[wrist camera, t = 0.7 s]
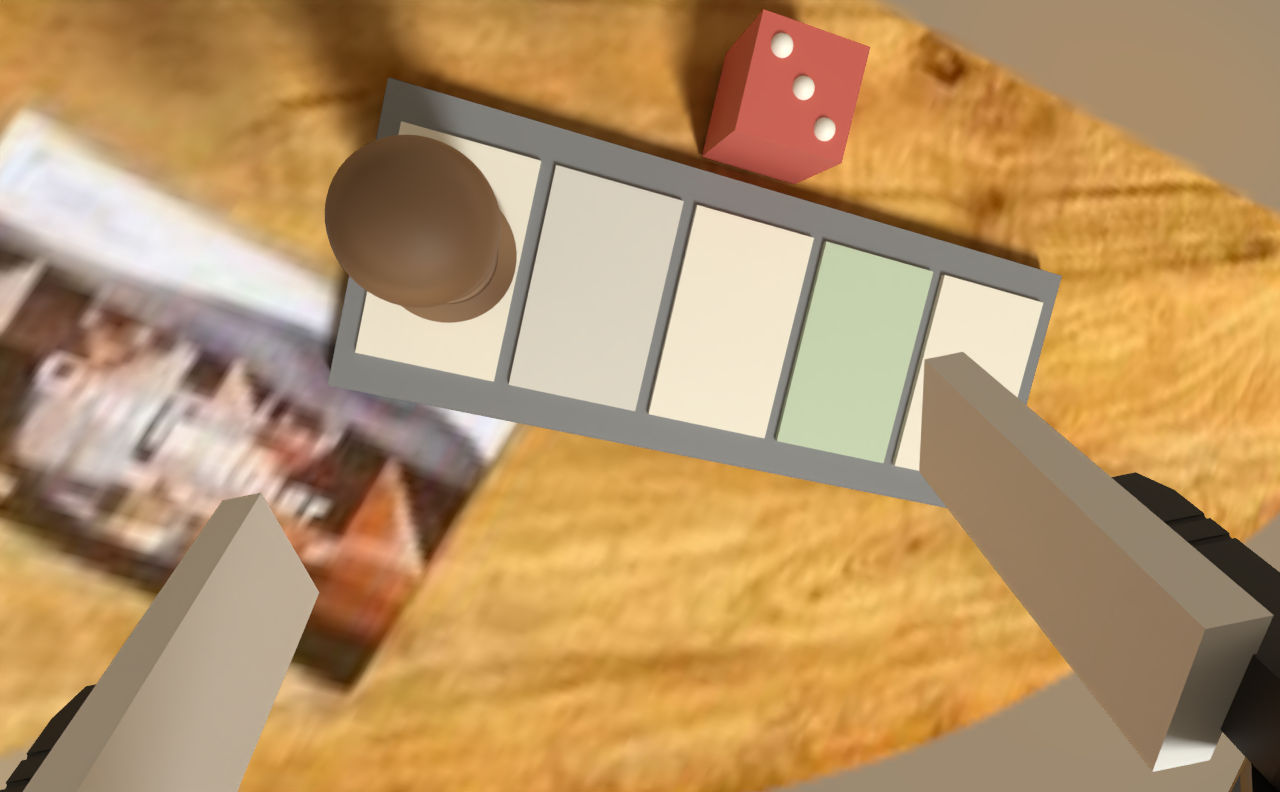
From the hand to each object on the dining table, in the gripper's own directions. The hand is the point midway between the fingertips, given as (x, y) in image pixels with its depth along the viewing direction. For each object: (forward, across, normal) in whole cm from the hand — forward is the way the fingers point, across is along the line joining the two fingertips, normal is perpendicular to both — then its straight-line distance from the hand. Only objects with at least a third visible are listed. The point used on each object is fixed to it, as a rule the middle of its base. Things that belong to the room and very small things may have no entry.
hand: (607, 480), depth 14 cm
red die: (+20, +9, +3) cm, 22 cm away
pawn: (+16, -5, +1) cm, 16 cm away
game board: (+16, +5, -5) cm, 18 cm away
